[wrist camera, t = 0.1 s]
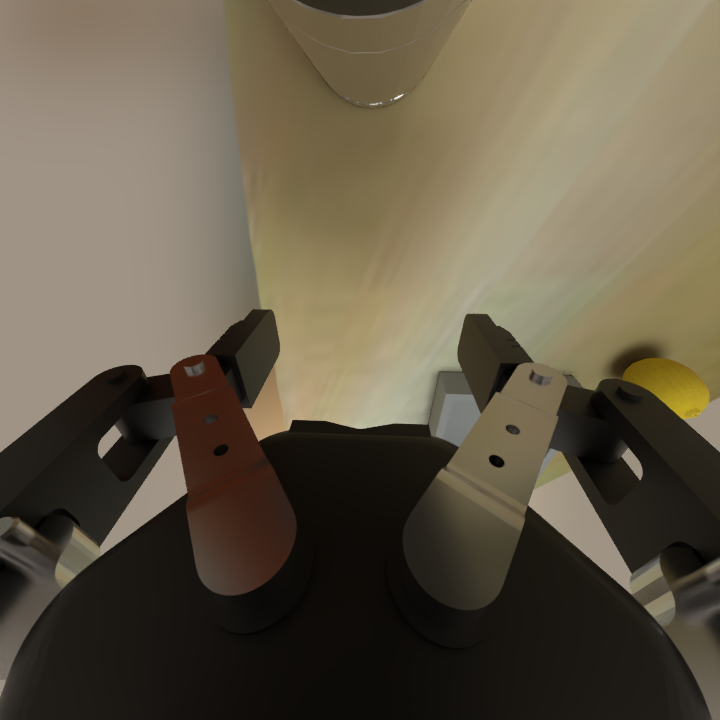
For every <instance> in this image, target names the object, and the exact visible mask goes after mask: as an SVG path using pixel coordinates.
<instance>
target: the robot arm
mask: <svg viewBox="0 0 720 720" xmlns="http://www.w3.org/2000/svg"><path fill="white" fill-rule="evenodd" d="M267 1H268V3H269V4H270V5H271V7H272V8H273V10H274V11H275V12H276V14H277V15H278V17H279V18H280V19H281V21H282V22H283V23H284V25H285V26H286V28H287V29H288V30H289V32H290V33H291V34H292V36H293V37H294V39H295V40H296V41H297V43H298V44H299V46H300V47H301V48H302V50H303V51H304V52H305V54H306V55H307V57H308V58H309V59H310V61H311V62H312V63H313V65H314V66H315V68H316V69H317V70H318V72H319V73H320V75H321V76H322V77H323V79H324V80H325V81H326V82H327V83H328V85H329V86H330V87H331V88H332V89H333V91H334V92H336V93H337V94H338V95H339V96H341V97H342V98H343V99H345V100H346V101H348V102H350V103H352V104H355V105H357V106H360V107H367V108H377V107H384V106H387V105H390V104H392V103H394V102H396V101H399V100H400V99H401V98H403V97H404V96H405V95H407V94H408V93H409V92H411V91H412V90H413V88H414V87H415V86H416V85H417V84H418V83H419V82H420V80H421V79H422V78H423V77H424V75H425V73H426V72H427V70H428V69H429V67H430V66H431V64H432V63H433V61H434V60H435V58H436V57H437V55H438V54H439V52H440V50H441V49H442V47H443V46H444V44H445V42H446V41H447V39H448V37H449V36H450V34H451V33H452V31H453V29H454V28H455V26H456V25H457V23H458V21H459V20H460V18H461V17H462V15H463V13H464V12H465V10H466V8H467V7H468V5H469V4H470V2H471V0H267ZM279 352H280V342H279V337H278V331H277V326H276V321H275V316H274V313H273V311H272V310H261V309H260V310H258V309H253V310H252V311H251V312H250V313H249V314H248V316H247V317H246V318H245V319H244V320H243V321H242V320H241V321H239V322H237V323H235V324H234V325H232V326H230V327H229V329H228V330H227V331H226V332H225V334H223V335H222V336H221V337H220V340H218V341H217V342H216V343H215V344H214V345H213V346H212V347H211V348H210V349H209V350H208V351H207V353H206V354H204V355H203V354H202V355H195V356H191V357H188V358H185V359H183V360H181V361H179V362H177V363H176V364H175V365H174V366H173V367H172V368H171V370H170V374H164V375H159V376H152V377H146V375H145V373H144V371H143V370H142V368H141V367H140V366H137V365H124V366H119V367H115V368H112V369H109V370H107V371H104V372H102V373H100V374H99V375H97V376H95V377H94V378H93V379H92V380H90V381H89V382H88V383H86V384H85V385H84V386H83V387H81V388H80V389H79V390H78V391H77V392H75V393H74V394H73V395H71V396H70V397H69V398H68V399H67V400H65V401H64V402H63V403H61V404H60V405H59V406H58V407H56V408H55V409H54V410H53V411H51V412H50V413H49V414H48V415H47V416H45V417H44V418H43V419H42V420H40V421H39V422H38V423H37V424H35V425H34V426H33V427H32V428H30V429H29V430H28V431H27V432H25V433H24V434H23V435H22V436H20V437H19V438H18V439H17V440H16V441H14V442H13V443H12V444H11V445H9V446H8V447H7V448H5V449H4V450H3V451H2V452H0V692H2V694H1V697H0V720H720V452H719V451H718V450H717V449H715V448H714V447H713V446H712V445H711V444H710V443H709V442H708V441H706V440H705V439H704V438H703V437H702V436H701V435H700V434H698V433H697V432H696V431H695V430H694V429H693V428H692V427H691V426H689V425H688V424H687V423H686V422H685V421H684V420H683V419H682V418H680V417H679V416H678V415H677V414H676V413H675V412H674V411H673V410H671V409H670V408H669V407H668V406H667V405H666V404H665V403H664V402H662V401H661V400H660V399H659V398H658V397H657V396H656V395H654V394H653V393H652V392H650V391H649V390H647V389H645V388H643V387H641V386H639V385H637V384H634V383H631V382H628V381H624V380H619V379H605V380H602V381H601V382H600V383H599V385H598V386H597V388H596V389H595V391H593V390H589V389H584V388H579V387H575V386H570V385H567V380H566V378H565V377H564V376H563V375H562V374H561V373H560V372H558V371H557V370H555V369H553V368H551V367H549V366H546V365H543V364H538V363H534V362H533V361H532V359H531V358H530V357H529V356H528V354H527V353H526V352H525V351H524V349H523V348H522V347H520V344H519V343H518V342H517V341H516V339H515V338H514V337H513V336H512V334H511V333H510V332H508V331H507V330H505V329H504V328H502V327H500V326H496V325H495V324H494V322H493V321H492V320H491V318H490V317H489V316H488V314H467V315H466V317H465V319H464V323H463V328H462V332H461V337H460V341H459V345H458V361H459V363H460V366H461V368H462V371H463V373H464V375H465V378H466V380H467V382H468V385H469V387H470V390H471V392H472V394H473V397H474V399H475V401H476V404H477V406H478V409H479V411H480V413H481V415H480V417H479V418H478V420H477V421H476V423H475V424H474V426H473V427H472V429H471V430H470V432H469V433H468V435H467V436H466V438H465V439H464V441H463V442H462V444H461V445H460V447H458V446H456V445H454V444H452V443H451V442H448V441H446V440H444V439H441V438H438V437H435V436H431V432H430V427H429V425H421V424H389V425H383V426H378V427H372V428H366V429H356V428H351V427H347V426H343V425H339V424H335V423H331V422H327V421H307V420H292V423H291V426H290V429H289V430H288V431H284V432H280V433H277V434H274V435H271V436H269V437H266V438H264V439H262V440H260V441H259V442H258V440H257V438H256V435H255V433H254V431H253V429H252V427H251V425H250V423H249V421H248V419H247V417H246V415H245V413H244V411H243V408H252V406H253V404H254V402H255V400H256V398H257V396H258V394H259V392H260V391H261V388H262V387H263V385H264V383H265V381H266V379H267V377H268V375H269V373H270V371H271V369H272V368H273V366H274V364H275V362H276V360H277V358H278V356H279ZM114 424H115V426H116V427H117V429H118V430H119V431H120V433H121V434H122V436H121V437H120V438H119V439H118V441H117V442H116V443H115V444H114V445H113V446H112V447H111V449H110V450H109V451H108V452H107V453H106V454H105V456H104V457H103V458H102V459H101V458H100V457H99V455H98V444H99V442H100V440H101V438H102V437H103V436H104V435H105V434H106V433H107V432H108V431H109V430H110V428H111V427H112V426H113V425H114ZM174 436H177V439H178V444H179V449H180V455H181V461H182V466H183V471H184V477H185V481H186V487H187V493H186V494H185V495H184V496H182V497H181V498H180V499H178V500H177V501H176V502H174V503H173V504H171V505H170V506H169V507H167V508H166V509H164V510H163V511H162V512H161V513H159V514H158V515H156V516H155V517H154V518H152V519H151V520H149V521H148V522H147V523H145V524H144V525H143V526H141V527H140V528H139V529H137V530H136V531H135V532H133V533H132V534H130V535H129V536H128V537H126V538H125V539H123V540H122V541H121V542H119V543H118V544H117V545H115V546H114V547H113V548H111V549H110V550H108V551H107V552H106V553H104V554H103V555H102V556H100V557H99V555H100V546H101V544H102V543H103V541H104V540H105V538H106V537H107V535H108V534H109V532H110V531H111V530H112V528H113V527H114V525H115V523H116V522H117V520H118V519H119V518H120V516H121V515H122V513H123V512H124V510H125V509H126V507H127V505H128V504H129V503H130V501H131V500H132V498H133V497H134V495H135V494H136V492H137V491H138V489H139V488H140V487H141V485H142V484H143V482H144V481H145V479H146V478H147V476H148V474H149V473H150V472H151V470H152V469H153V467H154V466H155V464H156V462H157V461H158V460H159V458H160V457H161V455H162V454H163V452H164V451H165V449H166V448H167V447H168V445H169V443H170V442H171V441H172V439H173V437H174ZM628 447H629V449H630V450H631V451H632V452H633V454H634V455H635V456H636V457H637V458H638V460H639V461H640V463H641V466H642V469H643V476H642V479H641V480H639V479H638V477H637V476H636V475H635V473H633V471H632V470H631V469H630V467H629V466H628V464H627V463H626V462H625V461H624V459H623V458H622V457H621V456H622V455H623V453H624V452H625V451H626V450H627V449H628ZM548 448H550V449H554V450H558V451H561V452H562V453H563V455H564V457H565V459H566V460H567V462H568V464H569V465H570V467H571V469H572V471H573V472H574V474H575V476H576V478H577V479H578V481H579V483H580V484H581V486H582V488H583V490H584V492H585V493H586V495H587V497H588V498H589V500H590V502H591V504H592V505H593V507H594V509H595V511H596V512H597V514H598V516H599V518H600V519H601V521H602V523H603V525H604V526H605V528H606V530H607V531H608V533H609V535H610V537H611V538H612V540H613V542H614V544H615V545H616V547H617V549H618V551H619V552H620V554H621V556H622V557H623V559H624V561H625V562H626V565H627V566H628V568H629V570H630V571H631V573H632V576H631V578H630V589H631V593H632V595H631V594H630V593H629V592H628V591H627V590H625V589H624V588H623V587H622V586H621V585H620V584H618V583H617V582H616V581H615V580H614V579H613V578H611V577H610V576H609V575H608V574H607V573H606V572H605V571H603V570H602V569H601V568H600V567H599V566H597V565H596V564H595V563H594V562H593V561H592V560H591V559H590V558H588V557H587V556H586V555H585V554H584V553H583V552H581V551H580V550H579V549H578V548H577V547H576V546H574V545H573V544H572V543H571V542H570V541H569V540H567V539H566V538H565V537H564V536H563V535H562V534H561V533H559V532H558V531H557V530H556V529H555V528H554V527H553V526H551V525H550V524H549V523H548V522H547V521H546V520H544V519H543V518H542V517H541V516H540V515H539V514H537V513H536V512H535V511H534V510H533V509H532V508H530V507H529V506H528V503H529V500H530V497H531V495H532V492H533V489H534V486H535V483H536V480H537V478H538V475H539V472H540V469H541V466H542V463H543V460H544V458H545V455H546V452H547V449H548Z"/></svg>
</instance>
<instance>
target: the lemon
mask: <svg viewBox="0 0 720 720" xmlns="http://www.w3.org/2000/svg"><path fill="white" fill-rule="evenodd" d="M622 380H624V381H628V382H631V383H634V384H637V385H639V386H641V387H643V388H645V389H647V390H649V391H650V392H652V393H653V394H654V395H656V396H657V397H658V398H659V399H660V400H661V401H662V402H664V403H665V404H666V405H667V406H668V407H669V408H670V409H671V410H673V411H674V412H675V413H676V414H677V415H678V416H679V417H680V418H682V419H687V418H695V417H697V416H699V415H700V413H701V412H702V411H703V410H704V409H705V408H706V406H707V405H708V402H709V398H710V396H709V390H708V388H707V386H706V385H705V383H704V382H703V381H702V380H701V379H700V378H699V376H698V375H697V374H696V373H694V372H693V371H692V370H691V369H689V368H688V367H686V366H684V365H682V364H680V363H678V362H675V361H672V360H669V359H663V358H648V359H643V360H640V361H637V362H635V363H632V364H631V366H629V367H628V368H627V369H626V370H625V372H624V374H623V377H622Z"/></svg>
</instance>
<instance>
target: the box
mask: <svg viewBox="0 0 720 720" xmlns="http://www.w3.org/2000/svg"><path fill="white" fill-rule="evenodd" d="M563 376H564V377H565V378H566V380H567V385H570V386H575V387H579V388H583V387H582V386H581V385H580V384H579V382H578V381H577V380H576V379H575V378H574V377H573V376H566V375H563ZM480 415H481V413H480V411H479V409H478V406H477V404H476V401H475V399H474V397H473V394H472V392H471V390H470V387H469V385H468V382H467V380H466V378H465V375H464V373H463V372H440V373H439V377H438V382H437V387H436V391H435V396H434V400H433V405H432V409H431V414H430V419H429V423H428V425H429V427H430V432H431V436H435V437H438V438H441V439H444V440H446V441H448V442H451V443H452V444H454V445H456V446H458V447H460V445H461V444H462V442H463V441H464V439H465V438H466V436H467V435H468V433H469V432H470V430H471V429H472V427H473V426H474V424H475V423H476V421H477V420H478V418H479V417H480ZM557 451H558V450H554V449H550V448H548V449H547V452H546V455H545V458H544V460H543V463H542V466H541V469H540V472H539V475H538V478H539V477H540V475H541V474H542V473H543V471H544V470H545V468H546V467H547V465H548V464H549V462H550V461H551V459H552V458H553V456H554V455H555V454H556V452H557ZM538 478H537V479H538Z"/></svg>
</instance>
